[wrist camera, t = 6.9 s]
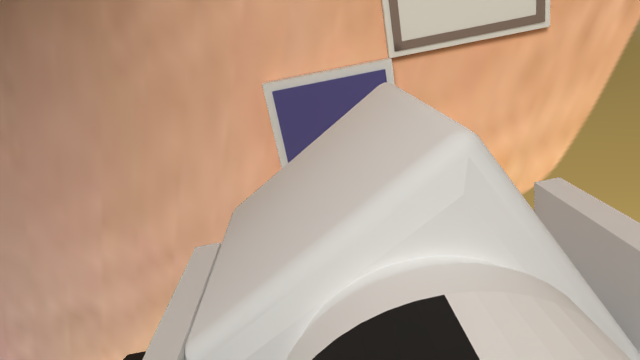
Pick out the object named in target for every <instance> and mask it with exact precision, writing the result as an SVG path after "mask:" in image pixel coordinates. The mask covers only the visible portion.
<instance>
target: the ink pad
mask: <svg viewBox="0 0 640 360" xmlns="http://www.w3.org/2000/svg"><path fill="white" fill-rule="evenodd" d="M384 82H386V83H392V84H394V85H395V82H394V74H393V66H392V59H390V58H385V59H380V60H375V61H370V62H365V63H360V64H355V65H350V66H345V67H340V68H335V69H330V70H325V71H320V72H314V73H309V74H304V75H299V76H294V77H289V78H284V79H279V80H274V81H269V82H264V83H263V84H262V86H263V90H264V94H265V98H266V103H267V107H268V111H269V116H270V120H271V124H272V128H273V133H274V137H275V141H276V145H277V150H278V154H279V158H280V163H281V167H282V168H283V167H284V166H286V165H287V164H288V163H289V162H290V161H291V160H293V159H294V158H295V157H296V156H297V155H298V154H300V153H301V152H302V151H303V150H304V149H305V148H307V147H308V146H309V145H310V144H311V143H312V142H314V141H315V140H316V139H317V138H318V137H319V136H320V135H322V134H323V133H324V132H325V131H326V130H327V129H329V128H330V127H331V126H332V125H333V124H334V123H336V122H337V121H338V120H339V119H340V118H341V117H343V116H344V115H345V114H346V113H347V112H348V111H350V110H351V109H352V108H353V107H354V106H355V105H357V104H358V103H359V102H360V101H361V100H362V99H364V98H365V97H366V96H367V95H368V94H369V93H370V92H372V91H373V90H374V89H375V88H376V87H377V86H379V85H380V84H382V83H384Z"/></svg>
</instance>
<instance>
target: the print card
mask: <svg viewBox="0 0 640 360" xmlns="http://www.w3.org/2000/svg"><path fill="white" fill-rule="evenodd" d="M381 3H382V11H383V19H384V27H385V35H386V43H387V52H388V58H394V57H399V56H404V55H409V54H414V53H419V52H424V51H429V50H434V49H439V48H444V47H449V46H454V45H459V44H464V43H469V42H474V41H479V40H484V39H489V38H494V37H499V36H504V35H509V34H514V33H519V32H525V31H530V30H535V29H540V28H545V27H550V0H381Z"/></svg>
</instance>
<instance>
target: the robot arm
mask: <svg viewBox="0 0 640 360" xmlns="http://www.w3.org/2000/svg"><path fill="white" fill-rule="evenodd" d="M534 190H535V191H534V193H535V194H534V196H535V198H534V200H535V201H534V206H535V207H534V208H535V209H534V212H535V213H536V215H537V216H538V217H539V219H540V220H541V221H542V223H543V224H544V225H545V227H546V228H547V229H548V231H549V232H550V233H551V235H552V236H553V238H554V239H555V240H556V242H557V243H558V244H559V246H560V247H561V248H562V250H563V251H564V252H565V254H566V255H567V256H568V258H569V259H570V260H571V262H572V263H573V264H574V266H575V267H576V268H577V270H578V271H579V272H580V274H581V275H582V277H583V278H584V279H585V281H586V282H587V283H588V285H589V286H590V287H591V289H592V290H593V291H594V293H595V294H596V295H597V297H598V298H599V299H600V301H601V302H602V303H603V305H604V306H605V307H606V309H607V310H608V311H609V313H610V314H611V316H612V317H613V318H614V320H615V321H616V322H617V324H618V325H619V326H620V328H621V329H622V330H623V332H624V333H625V334H626V336H627V337H628V338H629V340H630V341H631V342H632V344H633V345H634V346H635V348H636V349H637V351H638V353H639V354H640V223H638V222H637V221H635V220H633V219H632V218H630V217H628V216H626V215H625V214H623V213H621V212H619V211H618V210H616V209H614V208H612V207H611V206H609V205H607V204H605V203H604V202H601V201H600V200H598V199H597V198H595V197H593V196H591V195H590V194H588V193H586V192H584V191H583V190H581V189H579V188H577V187H576V186H574V185H572V184H570V183H569V182H567V181H565V180H563V179H561V178H555V179H549V180H544V181H539V182H534ZM220 247H221V244H220V243H215V244H209V245H204V246H199V247H195V249H194V251H193V254H192V256H191V258H190V260H189V262H188V264H187V266H186V268H185V270H184V273H183V275H182V277H181V279H180V281H179V283H178V285H177V287H176V290H175V292H174V294H173V296H172V298H171V300H170V302H169V304H168V306H167V309H166V311H165V313H164V315H163V317H162V319H161V321H160V323H159V326H158V328H157V330H156V332H155V334H154V336H153V338H152V340H151V342H150V345H149V347H148V349H147V351H146V352H140V353H135V354H129V355H127V356H126V357H125V358H124V359H123V360H186V359H185V345H186V342H187V339H188V337H189V334H190V331H191V328H192V325H193V323H194V320H195V317H196V314H197V311H198V309H199V306H200V303H201V300H202V297H203V295H204V292H205V289H206V286H207V283H208V281H209V278H210V275H211V272H212V269H213V267H214V264H215V261H216V258H217V255H218V253H219V250H220Z"/></svg>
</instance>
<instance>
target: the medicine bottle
mask: <svg viewBox="0 0 640 360" xmlns="http://www.w3.org/2000/svg"><path fill="white" fill-rule="evenodd" d="M185 359H186V360H640V354H639V353H638V351H637V349H636V348H635V346H634V345H633V344H632V342H631V341H630V340H629V338H628V337H627V336H626V334H625V333H624V332H623V330H622V329H621V328H620V326H619V325H618V324H617V322H616V321H615V320H614V318H613V317H612V316H611V314H610V313H609V311H608V310H607V309H606V307H605V306H604V305H603V303H602V302H601V301H600V299H599V298H598V297H597V295H596V294H595V293H594V291H593V290H592V289H591V287H590V286H589V285H588V283H587V282H586V281H585V279H584V278H583V277H582V275H581V274H580V272H579V271H578V270H577V268H576V267H575V266H574V264H573V263H572V262H571V260H570V259H569V258H568V256H567V255H566V254H565V252H564V251H563V250H562V248H561V247H560V246H559V244H558V243H557V242H556V240H555V239H554V238H553V236H552V235H551V233H550V232H549V231H548V229H547V228H546V227H545V225H544V224H543V223H542V221H541V220H540V219H539V217H538V216H537V215H536V213H535V212H534V211H533V209H532V208H531V207H530V205H529V204H528V203H527V201H526V200H525V199H524V197H523V196H522V194H521V193H520V192H519V190H518V189H517V188H516V186H515V185H514V184H513V182H512V181H511V180H510V178H509V177H508V176H507V174H506V173H505V172H504V170H503V169H502V168H501V166H500V165H499V164H498V162H497V161H496V160H495V158H494V157H493V155H492V154H491V153H490V151H489V150H488V149H487V147H486V146H485V145H484V143H483V142H482V141H481V139H480V138H479V137H478V135H476V134H475V133H474V132H472V131H471V130H469V129H468V128H466V127H464V126H463V125H461V124H459V123H458V122H456V121H454V120H453V119H451V118H449V117H447V116H446V115H444V114H442V113H441V112H439V111H437V110H436V109H434V108H432V107H431V106H429V105H427V104H426V103H424V102H422V101H421V100H419V99H417V98H415V97H414V96H412V95H410V94H409V93H407V92H405V91H404V90H402V89H400V88H399V87H397V86H395V85H394V84H392V83H386V82H384V83H382V84H380V85H379V86H377V87H376V88H375V89H374V90H373V91H372V92H370V93H369V94H368V95H367V96H366V97H365V98H364V99H362V100H361V101H360V102H359V103H358V104H357V105H355V106H354V107H353V108H352V109H351V110H350V111H348V112H347V113H346V114H345V115H344V116H343V117H341V118H340V119H339V120H338V121H337V122H336V123H334V124H333V125H332V126H331V127H330V128H329V129H327V130H326V131H325V132H324V133H323V134H322V135H320V136H319V137H318V138H317V139H316V140H315V141H314V142H312V143H311V144H310V145H309V146H308V147H307V148H305V149H304V150H303V151H302V152H301V153H300V154H298V155H297V156H296V157H295V158H294V159H293V160H291V161H290V162H289V163H288V164H287V165H286V166H284V167H283V168H282V169H281V170H280V171H279V172H277V173H276V174H275V175H274V176H273V177H272V178H270V179H269V180H268V181H267V182H266V183H265V184H263V185H262V186H261V187H260V188H259V189H258V190H257V191H255V192H254V193H253V194H252V195H251V196H250V197H248V198H247V199H246V200H245V201H244V202H243V203H241V204H240V205H239V206H238V207H237V208H236V209H235V210H234V212H233V214H232V216H231V219H230V222H229V225H228V228H227V230H226V233H225V236H224V239H223V242H222V244H221V247H220V250H219V253H218V255H217V258H216V261H215V264H214V267H213V269H212V272H211V275H210V278H209V281H208V283H207V286H206V289H205V292H204V295H203V297H202V300H201V303H200V306H199V309H198V311H197V314H196V317H195V320H194V323H193V325H192V328H191V331H190V334H189V337H188V339H187V342H186V345H185Z"/></svg>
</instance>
